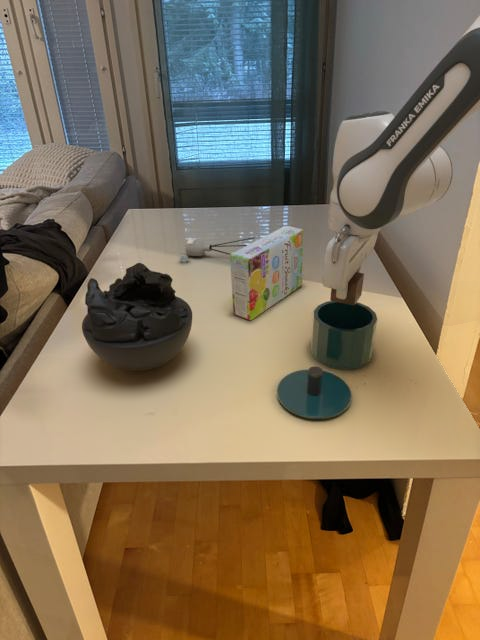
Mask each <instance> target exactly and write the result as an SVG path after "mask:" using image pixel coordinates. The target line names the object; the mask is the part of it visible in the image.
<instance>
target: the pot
mask: <svg viewBox="0 0 480 640" xmlns="http://www.w3.org/2000/svg"><path fill="white" fill-rule="evenodd" d="M377 325H378V317H377V313H376V312H375V311H374V310H373V309H372V308H371V307H370V306H368V305H366V304H364V303H361V302H358V301H357V302H356V304H355V305H354V306H353V305H348V304H344V303H339V302H335V301H331V300H328V301H325V302H323V303H320V304H318V305H317V306H316V307H315V308H314V309H313V315H312V328H311V331H312V332H311V343H310V345H311V346H310V348H311V350H310V351H311V354H312V356H313V358H314V359H315V360H316V361H317V362H318V363H319V364H322V365H323V366H326V367H328V368H330V369H331V368H332V369H335V370H343V371H344V370H345V371H348V370H355V369H356V370H357V369H359V368H362V367H364V366H366V365H367V364H368V363H369V362H370V360H371V358H372V355H373V351H374V345H375V344H374V343H375V337H376V331H377Z"/></svg>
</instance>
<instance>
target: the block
mask: <svg viewBox="0 0 480 640" xmlns="http://www.w3.org/2000/svg"><path fill="white" fill-rule="evenodd" d="M364 276H365V273H364V272H359V273H358V272H356V273H355V274H354V275H353V277H352V278H351V279H350V281H349V282H348V288H349V291H348V296H347V297H346V299H339V298H337V297H336V291H337V289H332V288H330V299H329V301H335V302H339V303H344V304H348V305H353V306H354V305H355V304H356V302H358V301H359V300H360V298H361V297H362V292H363V287H364V279H365V277H364Z"/></svg>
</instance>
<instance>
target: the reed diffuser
mask: <svg viewBox="0 0 480 640" xmlns="http://www.w3.org/2000/svg"><path fill="white" fill-rule="evenodd" d="M253 239H255V237H250V238H249V237H248V238H244V239H239V240H233V241H228V242H223V243H218V244H217V243H216V244H213V245H212V244H209V243H208V244H206V243H205V241H204V240H202V239H199V238H189V239H187V240H186V242H185V253H186V254H182V255H180V259H179V260H180V262H182V263H187V262H188V260H189V256H190V257H201V256H203V255H204V254H205V253H206V252H212V251H214V252H218V253H222V254H225V255H228V256H230V254H231V253H230V252H226V251H221V250H218V249H214V248H216V247H217V248H218V247H219V248H220V247H221V248H222V247H223V248H224V247H226V248H227V247H245V246H247V245H248V244H239V245H238V244H235V245H234V244H233V245H227V244H232V243H236V242H243V241H249V240H253Z"/></svg>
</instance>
